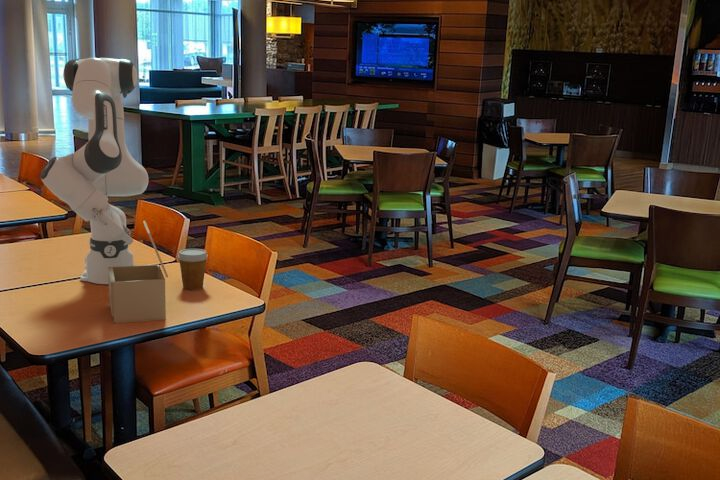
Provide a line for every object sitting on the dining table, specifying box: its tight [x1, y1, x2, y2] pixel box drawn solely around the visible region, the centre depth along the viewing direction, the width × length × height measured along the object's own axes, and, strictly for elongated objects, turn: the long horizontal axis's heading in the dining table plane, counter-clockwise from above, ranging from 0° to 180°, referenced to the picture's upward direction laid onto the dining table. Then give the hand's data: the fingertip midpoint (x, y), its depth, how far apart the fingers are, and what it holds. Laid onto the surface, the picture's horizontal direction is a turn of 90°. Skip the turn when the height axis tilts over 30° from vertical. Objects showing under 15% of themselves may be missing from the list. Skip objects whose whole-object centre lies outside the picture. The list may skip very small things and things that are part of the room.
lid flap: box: [142, 220, 169, 279], centre depth 218 cm, size 16×14×1 cm
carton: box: [108, 264, 167, 324], centre depth 219 cm, size 16×15×12 cm
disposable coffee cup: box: [177, 248, 209, 291], centre depth 244 cm, size 10×10×12 cm
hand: (130, 238), depth 214 cm, fingers open, 8 cm apart
